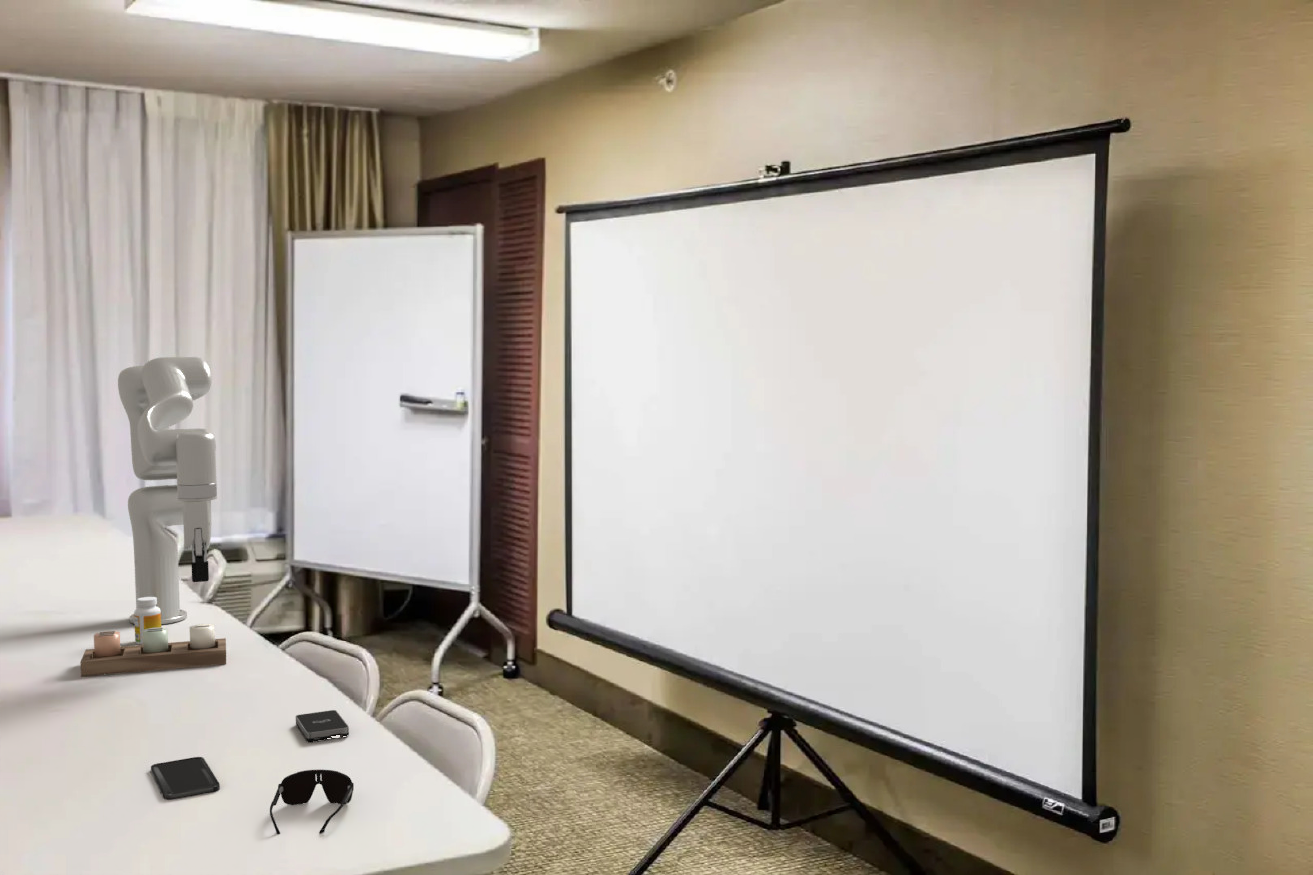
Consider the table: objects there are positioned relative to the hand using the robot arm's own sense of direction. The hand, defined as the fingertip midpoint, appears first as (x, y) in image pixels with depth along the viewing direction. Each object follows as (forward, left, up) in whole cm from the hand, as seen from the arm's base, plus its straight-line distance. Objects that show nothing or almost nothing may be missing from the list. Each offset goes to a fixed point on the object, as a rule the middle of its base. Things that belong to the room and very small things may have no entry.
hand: (200, 580), depth 253 cm
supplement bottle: (-20, -12, -17) cm, 29 cm away
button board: (0, -9, -17) cm, 19 cm away
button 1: (0, 0, -14) cm, 14 cm away
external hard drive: (+55, +20, -17) cm, 61 cm away
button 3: (0, -18, -14) cm, 23 cm away
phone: (+72, -2, -17) cm, 74 cm away
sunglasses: (+93, +15, -17) cm, 96 cm away
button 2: (0, -9, -14) cm, 16 cm away
